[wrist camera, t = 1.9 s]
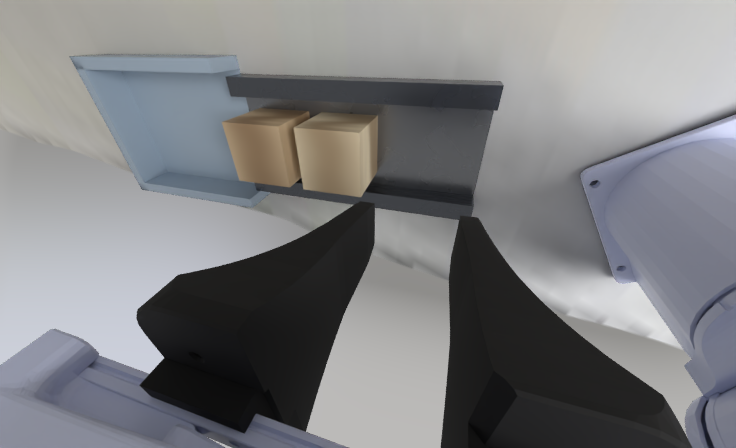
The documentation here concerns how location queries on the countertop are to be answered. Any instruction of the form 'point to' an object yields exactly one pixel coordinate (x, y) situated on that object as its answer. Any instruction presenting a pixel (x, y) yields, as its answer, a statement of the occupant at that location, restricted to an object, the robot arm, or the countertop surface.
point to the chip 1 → (265, 145)
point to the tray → (172, 121)
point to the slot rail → (395, 133)
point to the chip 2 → (338, 152)
